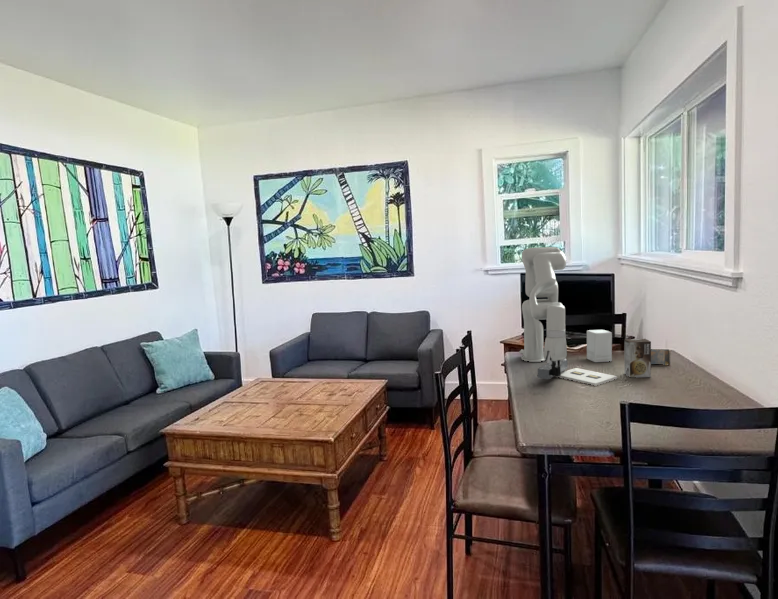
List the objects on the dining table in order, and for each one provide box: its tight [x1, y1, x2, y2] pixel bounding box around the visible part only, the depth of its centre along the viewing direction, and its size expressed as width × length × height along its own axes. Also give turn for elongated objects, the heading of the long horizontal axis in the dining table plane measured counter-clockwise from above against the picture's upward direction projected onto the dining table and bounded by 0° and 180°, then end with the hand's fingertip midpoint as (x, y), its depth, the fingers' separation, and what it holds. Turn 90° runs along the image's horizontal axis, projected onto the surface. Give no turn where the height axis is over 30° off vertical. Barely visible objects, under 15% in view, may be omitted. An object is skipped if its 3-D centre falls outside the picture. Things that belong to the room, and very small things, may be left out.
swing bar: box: [537, 357, 568, 380], centre depth 212 cm, size 24×5×4 cm, turn 140°
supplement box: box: [586, 329, 613, 363], centre depth 240 cm, size 9×9×15 cm
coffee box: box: [623, 338, 652, 378], centre depth 209 cm, size 9×6×16 cm
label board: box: [555, 367, 618, 387], centre depth 212 cm, size 23×16×2 cm
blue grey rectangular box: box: [651, 348, 672, 366], centre depth 227 cm, size 11×3×10 cm, turn 75°
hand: (556, 375), depth 203 cm, fingers closed
